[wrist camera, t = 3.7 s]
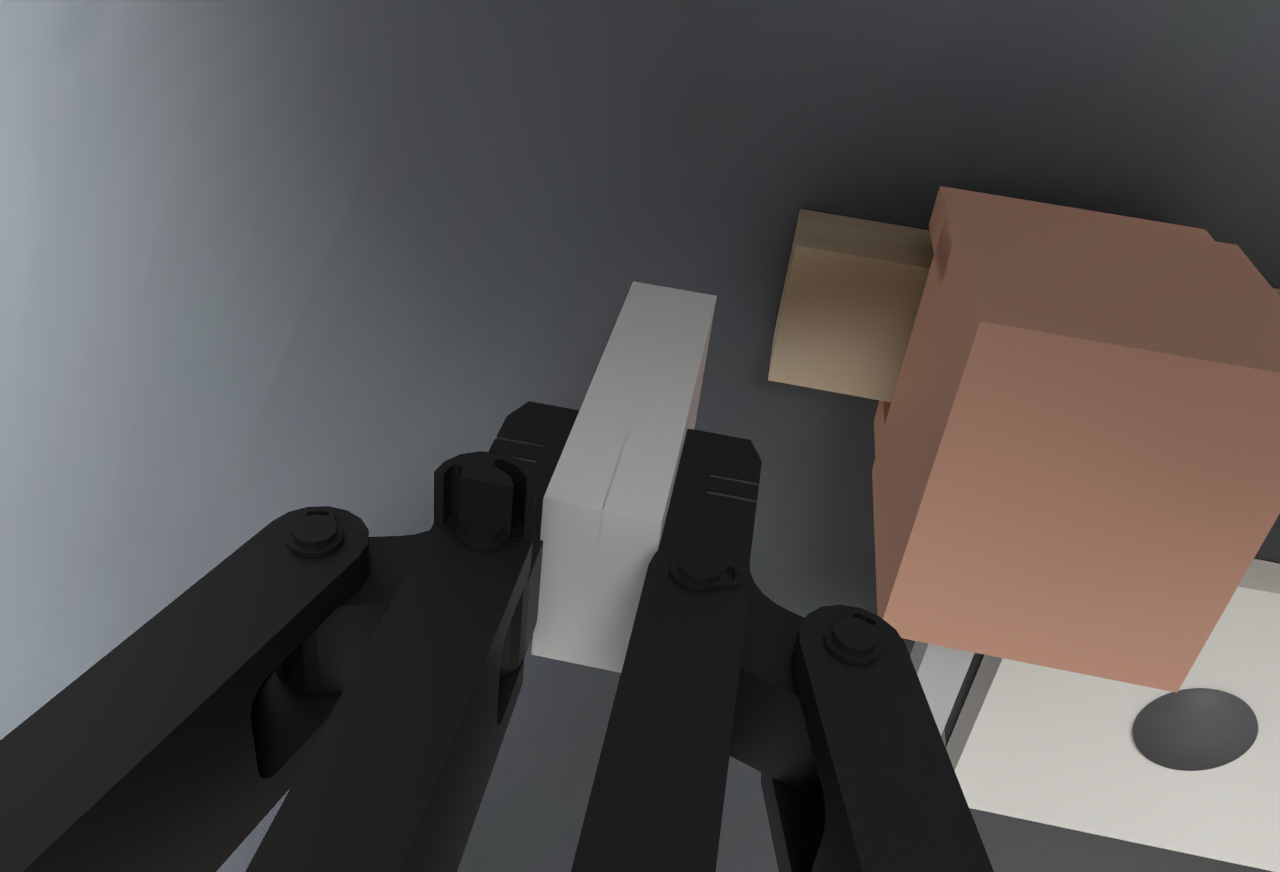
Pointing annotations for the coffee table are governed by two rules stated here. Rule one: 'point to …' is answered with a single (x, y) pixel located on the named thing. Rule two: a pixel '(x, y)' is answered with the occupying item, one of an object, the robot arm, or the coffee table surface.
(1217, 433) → the sliding leg
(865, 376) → the rail
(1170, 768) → the hole plate
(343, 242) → the coffee table surface
